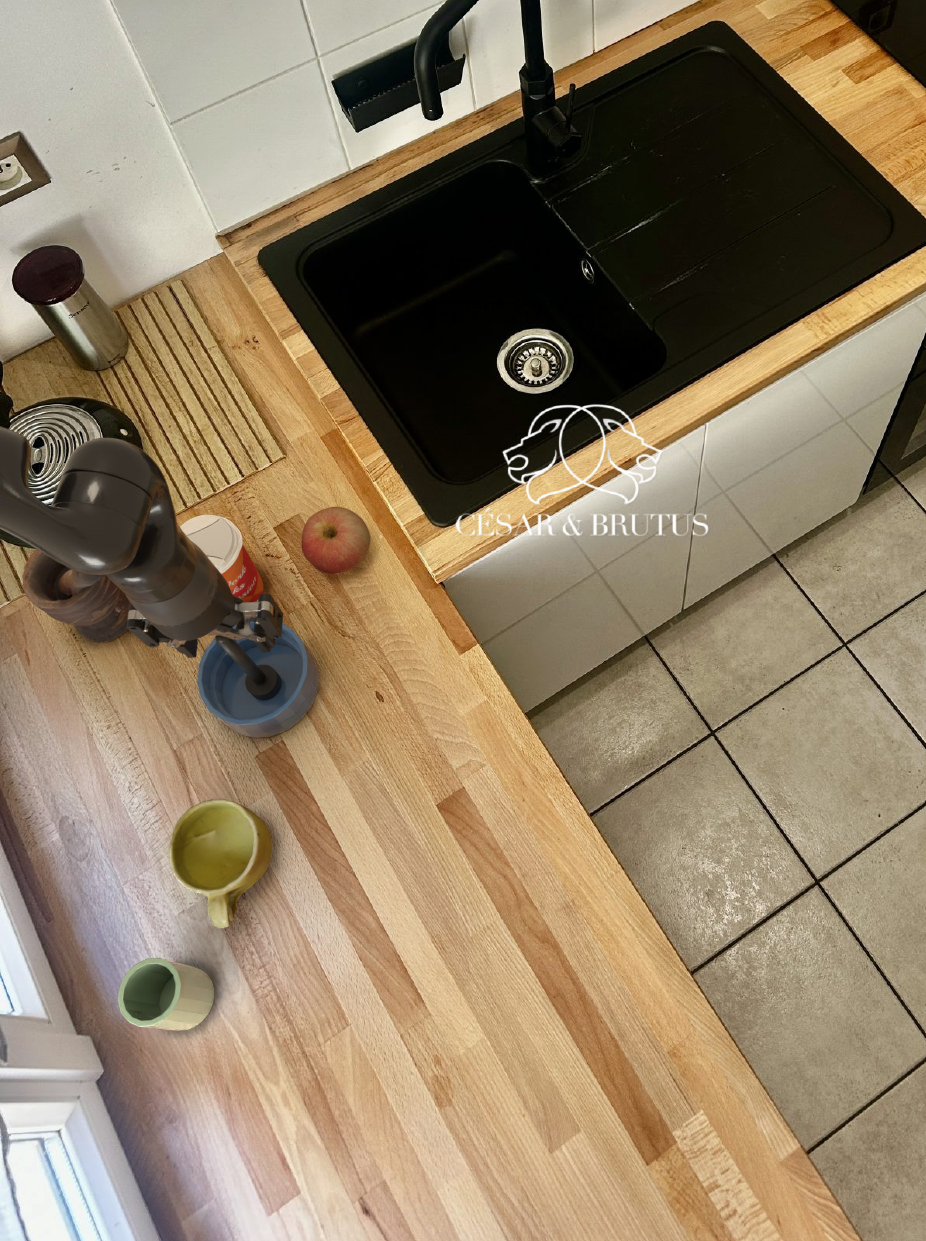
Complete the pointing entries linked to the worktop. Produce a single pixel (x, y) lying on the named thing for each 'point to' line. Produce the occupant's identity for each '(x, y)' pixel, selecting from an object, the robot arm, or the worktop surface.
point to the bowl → (238, 706)
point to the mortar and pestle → (76, 598)
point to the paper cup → (226, 554)
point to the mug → (220, 854)
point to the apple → (335, 540)
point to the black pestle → (252, 671)
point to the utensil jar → (165, 995)
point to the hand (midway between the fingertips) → (230, 646)
